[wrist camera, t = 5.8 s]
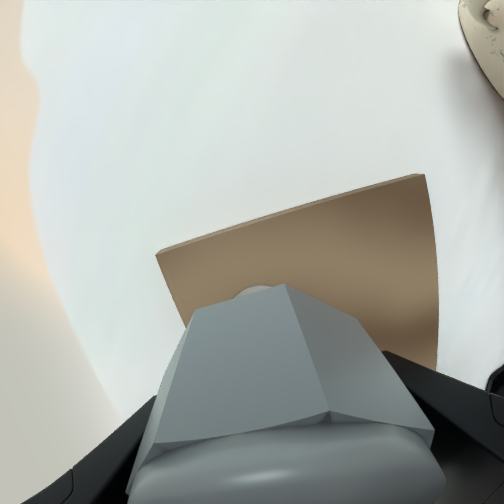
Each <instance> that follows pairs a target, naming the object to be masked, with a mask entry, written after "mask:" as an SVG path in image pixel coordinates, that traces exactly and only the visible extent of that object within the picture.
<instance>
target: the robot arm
mask: <svg viewBox="0 0 504 504" xmlns="http://www.w3.org/2000/svg"><path fill="white" fill-rule="evenodd" d="M381 352H382V354H383V355H384V357H385V358H386V359H387V361H388V362H389V364H390V365H391V366H392V368H393V369H394V371H395V372H396V373H397V375H398V376H399V378H400V379H401V381H402V382H403V383H404V385H405V386H406V388H407V389H408V391H409V392H410V394H411V395H412V397H413V398H414V399H415V401H416V402H417V404H418V405H419V407H420V408H421V410H422V411H423V413H424V414H425V416H426V417H427V419H428V420H429V422H430V423H431V425H432V426H433V428H434V429H435V432H434V436H433V440H432V443H431V447H430V450H431V452H432V454H433V456H434V457H435V459H436V461H437V463H438V464H439V466H440V468H441V470H442V471H443V473H444V475H445V477H446V485H445V487H444V490H443V492H442V493H441V495H440V496H439V498H438V499H437V500H436V501H435V502H434V503H433V504H504V366H502V367H501V368H500V369H498V370H497V371H496V372H494V373H493V375H492V376H491V378H490V380H489V384H488V387H487V391H484V390H482V389H479V388H477V387H474V386H472V385H469V384H467V383H464V382H462V381H459V380H457V379H454V378H452V377H449V376H447V375H444V374H442V373H439V372H437V371H435V370H432V369H430V368H427V367H425V366H423V365H420V364H418V363H415V362H413V361H411V360H408V359H406V358H404V357H401V356H399V355H397V354H394V353H392V352H390V351H387V350H383V351H381ZM156 397H157V395H155V396H153V397H152V398H151V399H150V400H149V401H148V402H146V403H145V404H144V405H143V406H142V407H141V408H140V409H139V410H138V411H137V412H135V413H134V414H133V415H132V416H131V417H130V418H129V419H128V420H126V421H125V422H124V423H123V424H122V425H121V426H120V427H119V428H118V429H117V430H115V431H114V432H113V433H112V434H111V435H110V436H108V438H106V439H105V440H104V441H103V442H102V443H100V444H99V445H98V446H97V447H96V448H95V449H94V450H92V451H91V452H90V453H89V454H88V455H86V456H85V457H84V458H83V459H82V460H80V461H79V462H78V463H77V464H76V465H74V466H73V469H70V470H69V471H67V472H66V473H65V474H64V475H62V476H61V477H60V478H59V479H57V480H56V481H55V482H54V483H52V484H51V485H49V486H48V487H46V488H45V489H43V490H42V491H40V492H39V493H37V494H36V495H34V496H33V497H31V498H29V499H28V500H26V501H24V502H23V503H21V504H127V503H128V499H129V495H128V494H126V493H125V492H126V488H127V485H128V482H129V479H130V475H131V472H132V469H133V466H134V463H135V459H136V456H137V453H138V450H139V447H140V444H141V441H142V438H143V435H144V432H145V429H146V426H147V423H148V420H149V417H150V414H151V411H152V408H153V405H154V402H155V400H156Z"/></svg>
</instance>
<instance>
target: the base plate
mask: <svg viewBox="0 0 504 504" xmlns="http://www.w3.org/2000/svg"><path fill="white" fill-rule="evenodd" d="M155 256H156V258H157V261H158V264H159V266H160V269H161V271H162V274H163V276H164V279H165V281H166V283H167V286H168V288H169V291H170V293H171V295H172V298H173V300H174V302H175V305H176V307H177V309H178V312H179V314H180V316H181V318H182V321H183V323H184V325H185V327H186V328H187V326H188V324H189V322H190V320H191V318H192V316H193V314H194V312H195V310H196V309H199V308H202V307H206V306H209V305H213V304H217V303H220V302H224V301H227V300H231V299H234V298H238V297H241V296H244V295H248V294H251V293H255V292H258V291H261V290H265V289H268V288H271V287H274V286H278V285H281V284H286V285H288V286H290V287H292V288H294V289H297V290H299V291H301V292H303V293H305V294H307V295H309V296H311V297H313V298H315V299H317V300H319V301H321V302H323V303H326V304H328V305H330V306H332V307H334V308H336V309H338V310H340V311H342V312H344V313H346V314H349V315H351V316H353V317H355V318H357V320H358V321H359V322H360V324H361V325H362V326H363V328H364V329H365V330H366V332H367V333H368V335H369V336H370V337H371V339H372V340H373V341H374V343H375V344H376V345H377V347H378V348H379V350H380V351H383V350H387V351H390V352H392V353H394V354H397V355H399V356H401V357H404V358H406V359H408V360H411V361H413V362H415V363H418V364H420V365H423V366H425V367H427V368H430V369H432V370H435V371H436V362H437V348H438V324H439V295H438V271H437V256H436V245H435V236H434V227H433V220H432V213H431V206H430V200H429V194H428V189H427V183H426V178H425V174H412V175H408V176H404V177H400V178H396V179H393V180H389V181H385V182H381V183H378V184H374V185H370V186H367V187H363V188H360V189H356V190H352V191H349V192H345V193H342V194H338V195H335V196H331V197H328V198H324V199H321V200H317V201H314V202H310V203H307V204H304V205H300V206H297V207H294V208H290V209H287V210H284V211H280V212H277V213H274V214H270V215H267V216H264V217H261V218H257V219H254V220H251V221H248V222H245V223H241V224H238V225H235V226H232V227H229V228H226V229H222V230H219V231H216V232H213V233H210V234H207V235H204V236H201V237H198V238H195V239H192V240H189V241H186V242H183V243H180V244H177V245H174V246H171V247H168V248H165V249H162V250H160V251H159V252H158V253H157V254H156V255H155Z"/></svg>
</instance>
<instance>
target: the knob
mask: <svg viewBox="0 0 504 504" xmlns="http://www.w3.org/2000/svg"><path fill="white" fill-rule="evenodd" d="M434 432H435V429H434V428H433V426H432V425H431V423H430V422H429V420H428V419H427V417H426V416H425V414H424V413H423V411H422V410H421V408H420V407H419V405H418V404H417V402H416V401H415V399H414V398H413V397H412V395H411V394H410V392H409V391H408V389H407V388H406V386H405V385H404V383H403V382H402V381H401V379H400V378H399V376H398V375H397V373H396V372H395V371H394V369H393V368H392V366H391V365H390V364H389V362H388V361H387V359H386V358H385V357H384V355H383V354H382V352H381V351H380V350H379V348H378V347H377V345H376V344H375V343H374V341H373V340H372V339H371V337H370V336H369V335H368V333H367V332H366V330H365V329H364V328H363V326H362V325H361V324H360V322H359V321H358V320H357V318H355V317H353V316H351V315H349V314H346V313H344V312H342V311H340V310H338V309H336V308H334V307H332V306H330V305H328V304H326V303H323V302H321V301H319V300H317V299H315V298H313V297H311V296H309V295H307V294H305V293H303V292H301V291H299V290H297V289H294V288H292V287H290V286H288V285H286V284H281V285H278V286H274V287H271V288H268V289H265V290H261V291H258V292H255V293H251V294H248V295H244V296H241V297H238V298H234V299H231V300H227V301H224V302H220V303H217V304H213V305H209V306H206V307H202V308H199V309H196V310H195V312H194V314H193V316H192V318H191V320H190V322H189V324H188V326H187V328H186V330H185V332H184V334H183V336H182V338H181V340H180V342H179V344H178V347H177V349H176V351H175V353H174V355H173V357H172V359H171V361H170V363H169V365H168V367H167V369H166V372H165V374H164V377H163V380H162V383H161V385H160V388H159V391H158V394H157V397H156V400H155V402H154V405H153V408H152V411H151V414H150V417H149V420H148V423H147V426H146V429H145V432H144V435H143V438H142V441H141V444H140V447H139V450H138V453H137V456H136V459H135V463H134V466H133V469H132V472H131V475H130V479H129V482H128V485H127V488H126V492H125V493H126V494H128V495H129V499H128V503H127V504H433V503H434V502H435V501H436V500H437V499H438V498H439V496H440V495H441V493H442V492H443V490H444V487H445V485H446V477H445V475H444V473H443V471H442V470H441V468H440V466H439V464H438V463H437V461H436V459H435V457H434V456H433V454H432V452H431V450H430V447H431V443H432V440H433V436H434Z"/></svg>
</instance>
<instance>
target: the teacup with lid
mask: <svg viewBox="0 0 504 504" xmlns="http://www.w3.org/2000/svg"><path fill="white" fill-rule="evenodd" d="M458 8H459V17H460V22H461V25H462V29H463V31H464V34H465V37H466V39H467V41H468V44H469V46H470V48H471V50H472V52H473V54H474V56H475V58H476V60H477V61H478V63H479V65H480V67H481V68H482V70H483V72H484V73H485V75H486V76H487V78H488V79H489V81H490V82H491V84H492V85H493V86H494V88H495V89H496V90H497V92H498V93H499V94H500V95H501V96H502V98H503V99H504V0H459V7H458Z"/></svg>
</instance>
